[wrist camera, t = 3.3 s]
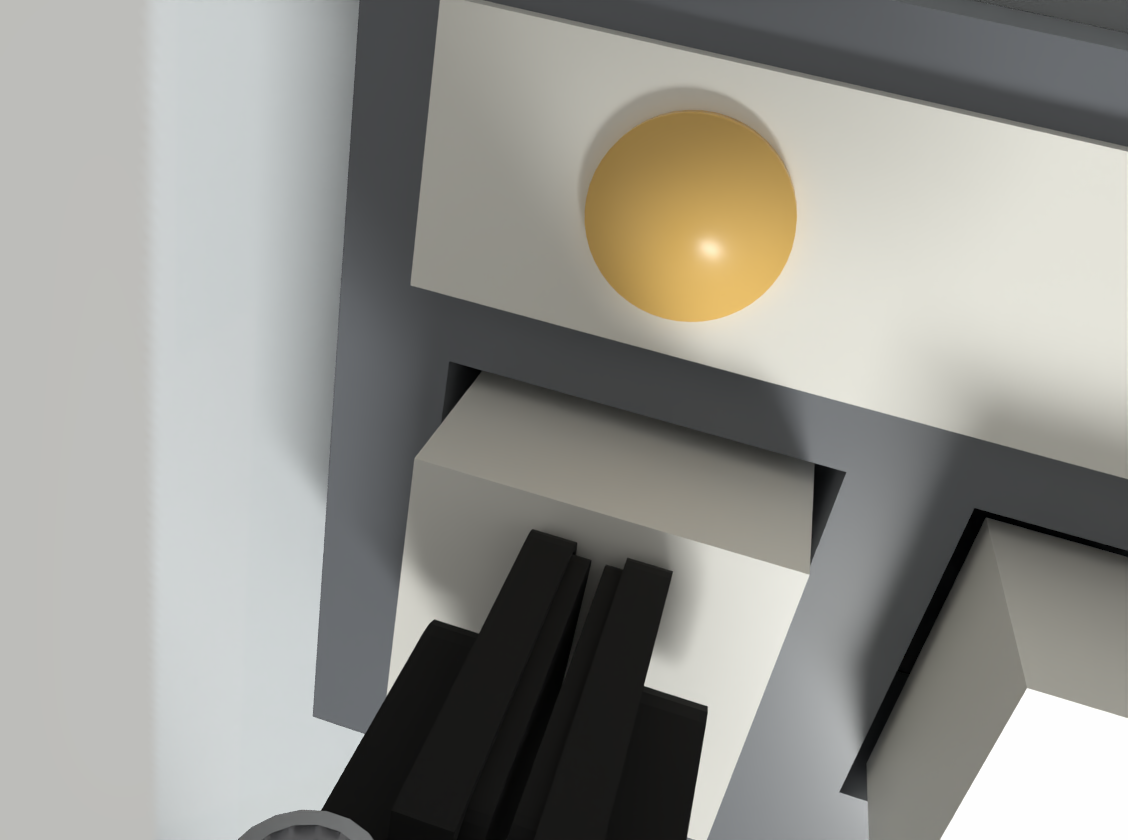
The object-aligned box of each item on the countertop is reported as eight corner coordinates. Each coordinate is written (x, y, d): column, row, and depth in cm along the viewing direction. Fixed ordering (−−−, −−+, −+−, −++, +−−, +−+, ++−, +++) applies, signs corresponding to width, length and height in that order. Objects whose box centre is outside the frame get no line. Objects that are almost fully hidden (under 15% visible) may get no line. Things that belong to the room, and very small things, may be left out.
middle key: (1185, 864, 13) (1267, 1092, 11) (866, 763, 14) (872, 956, 11) (1372, 626, 11) (1532, 840, 9) (985, 516, 12) (1026, 687, 9)
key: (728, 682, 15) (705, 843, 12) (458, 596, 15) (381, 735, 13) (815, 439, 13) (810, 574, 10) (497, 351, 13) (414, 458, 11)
